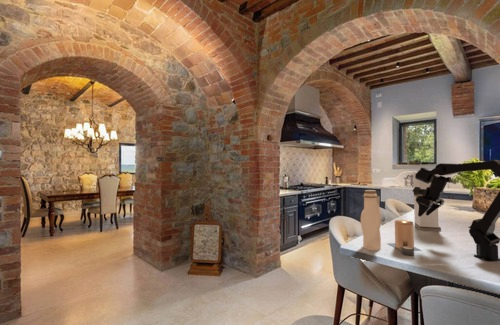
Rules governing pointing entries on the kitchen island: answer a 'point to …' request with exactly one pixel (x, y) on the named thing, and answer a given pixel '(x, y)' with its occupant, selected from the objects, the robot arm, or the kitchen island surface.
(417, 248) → the slate mat
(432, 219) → the tall white column
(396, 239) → the brown tapered cup
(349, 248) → the kitchen island surface
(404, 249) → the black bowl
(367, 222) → the water bottle
